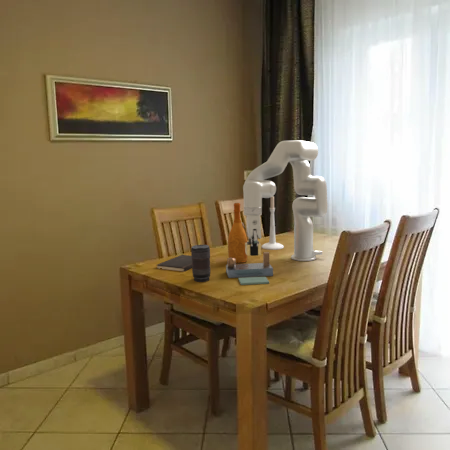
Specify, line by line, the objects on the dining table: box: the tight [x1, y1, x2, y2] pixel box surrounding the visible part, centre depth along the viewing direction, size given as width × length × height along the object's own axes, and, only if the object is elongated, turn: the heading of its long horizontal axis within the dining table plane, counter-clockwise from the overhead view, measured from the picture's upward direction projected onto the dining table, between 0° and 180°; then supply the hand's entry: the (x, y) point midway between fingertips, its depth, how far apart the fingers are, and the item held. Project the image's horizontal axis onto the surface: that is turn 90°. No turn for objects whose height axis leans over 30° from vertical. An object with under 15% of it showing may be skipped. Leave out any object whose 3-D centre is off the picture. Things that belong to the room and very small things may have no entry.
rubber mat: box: [237, 276, 270, 286], centre depth 190 cm, size 12×8×1 cm, turn 96°
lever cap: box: [245, 241, 262, 257], centre depth 188 cm, size 6×5×5 cm
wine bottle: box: [227, 202, 248, 264], centre depth 223 cm, size 10×10×30 cm
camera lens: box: [190, 244, 211, 283], centre depth 193 cm, size 8×8×15 cm
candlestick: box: [261, 195, 284, 251], centre depth 255 cm, size 13×13×30 cm
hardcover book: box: [155, 254, 192, 272], centre depth 222 cm, size 16×23×2 cm
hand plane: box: [225, 251, 274, 279], centre depth 202 cm, size 20×10×10 cm, turn 96°
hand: (253, 253), depth 188 cm, fingers closed on lever cap, 5 cm apart
